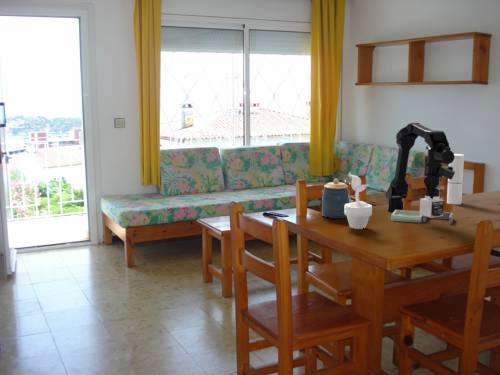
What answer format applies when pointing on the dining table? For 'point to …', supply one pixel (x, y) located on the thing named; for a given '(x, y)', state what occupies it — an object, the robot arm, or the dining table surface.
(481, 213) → the dining table surface
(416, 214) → the tray
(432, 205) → the medicine bottle
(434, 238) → the dining table surface
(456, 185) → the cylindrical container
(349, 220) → the potted plant
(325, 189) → the canister
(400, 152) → the robot arm
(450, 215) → the dock
